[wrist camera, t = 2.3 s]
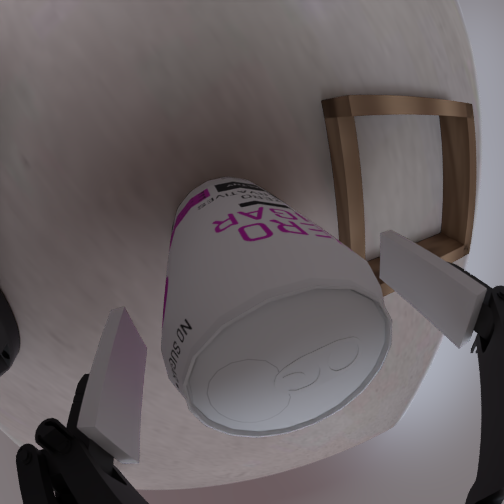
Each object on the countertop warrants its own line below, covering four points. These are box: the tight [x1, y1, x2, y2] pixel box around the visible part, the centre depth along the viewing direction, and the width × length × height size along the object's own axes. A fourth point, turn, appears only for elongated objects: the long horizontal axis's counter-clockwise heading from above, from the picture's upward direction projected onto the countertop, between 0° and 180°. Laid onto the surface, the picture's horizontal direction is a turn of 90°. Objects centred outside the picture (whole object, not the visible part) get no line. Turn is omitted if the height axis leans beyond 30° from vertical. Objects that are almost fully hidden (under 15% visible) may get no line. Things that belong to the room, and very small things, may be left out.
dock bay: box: [321, 95, 476, 296], centre depth 21 cm, size 16×17×4 cm
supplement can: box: [161, 177, 392, 438], centre depth 14 cm, size 8×8×15 cm
